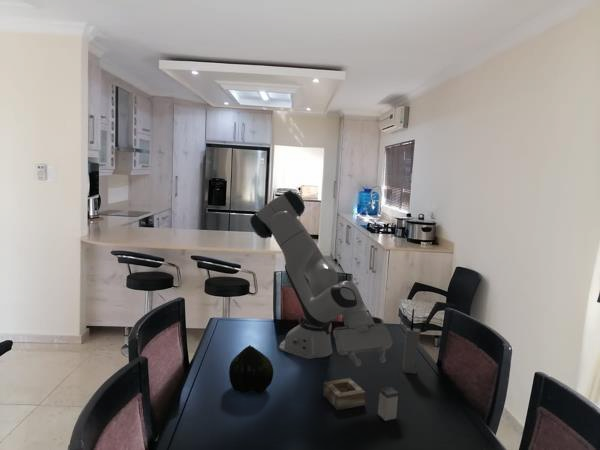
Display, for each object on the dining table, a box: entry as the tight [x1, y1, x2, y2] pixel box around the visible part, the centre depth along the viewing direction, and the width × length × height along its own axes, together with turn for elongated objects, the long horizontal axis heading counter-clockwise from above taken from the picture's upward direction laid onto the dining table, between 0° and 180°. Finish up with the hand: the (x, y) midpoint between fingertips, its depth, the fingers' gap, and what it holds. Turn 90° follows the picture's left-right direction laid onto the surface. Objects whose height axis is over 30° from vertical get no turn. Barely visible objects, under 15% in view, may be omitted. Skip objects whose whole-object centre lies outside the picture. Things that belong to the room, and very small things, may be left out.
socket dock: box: [323, 377, 366, 411], centre depth 142 cm, size 10×10×4 cm
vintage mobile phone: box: [402, 308, 421, 375], centre depth 165 cm, size 4×5×25 cm
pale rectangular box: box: [377, 385, 399, 422], centre depth 133 cm, size 4×4×8 cm
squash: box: [228, 345, 274, 394], centre depth 146 cm, size 14×15×15 cm
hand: (371, 363), depth 141 cm, fingers open, 8 cm apart
